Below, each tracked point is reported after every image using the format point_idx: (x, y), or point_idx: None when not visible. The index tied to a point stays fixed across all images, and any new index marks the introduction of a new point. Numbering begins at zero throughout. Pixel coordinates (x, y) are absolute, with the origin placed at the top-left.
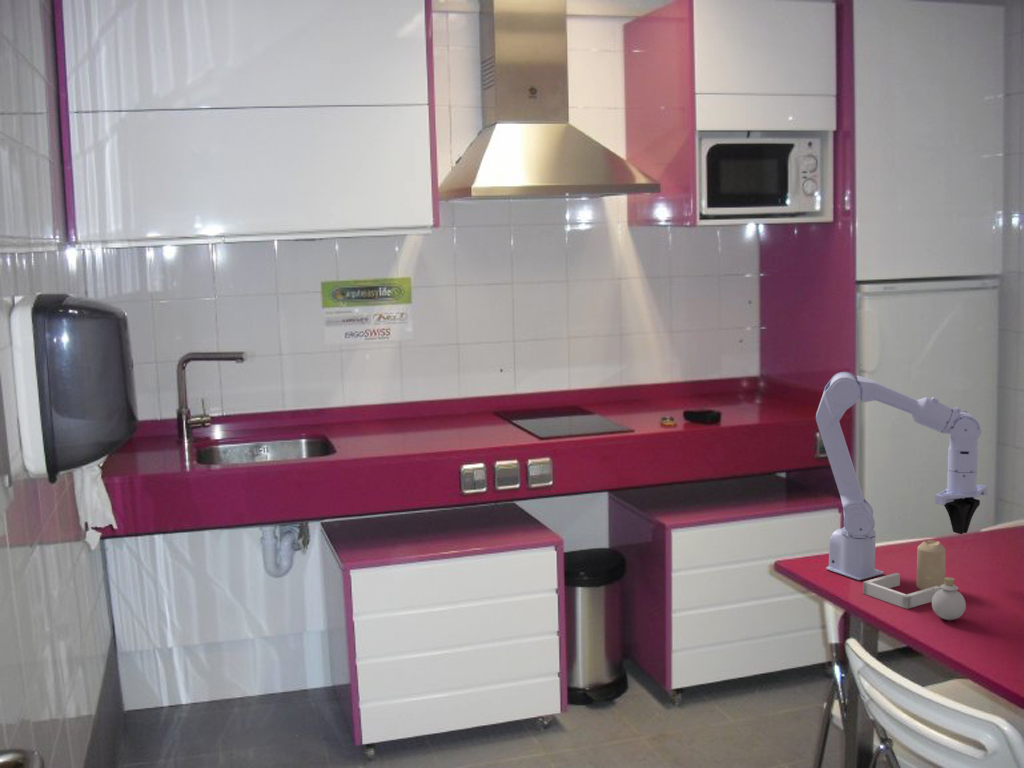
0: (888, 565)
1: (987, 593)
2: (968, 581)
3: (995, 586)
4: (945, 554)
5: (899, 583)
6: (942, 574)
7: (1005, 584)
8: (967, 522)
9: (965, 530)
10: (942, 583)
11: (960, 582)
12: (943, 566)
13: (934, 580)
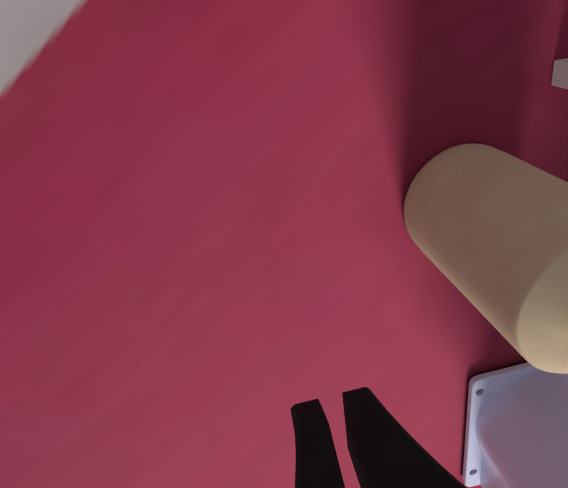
0: None
1: (296, 15)
2: (241, 204)
3: (168, 87)
4: (555, 227)
5: None
6: (510, 168)
7: (88, 89)
8: (341, 475)
9: (323, 416)
10: (477, 154)
11: (287, 207)
12: (529, 188)
13: (532, 165)
